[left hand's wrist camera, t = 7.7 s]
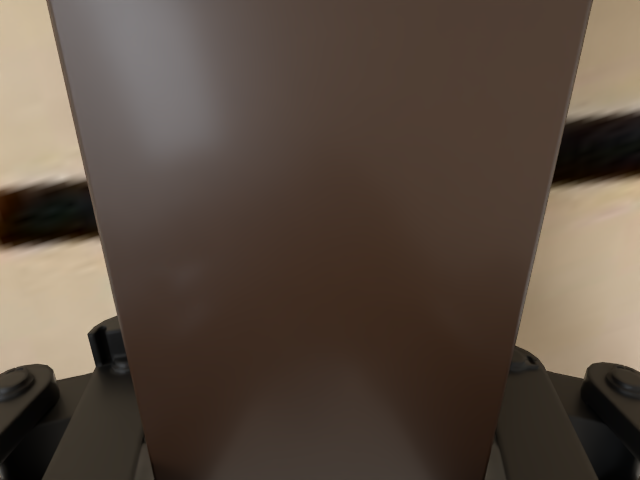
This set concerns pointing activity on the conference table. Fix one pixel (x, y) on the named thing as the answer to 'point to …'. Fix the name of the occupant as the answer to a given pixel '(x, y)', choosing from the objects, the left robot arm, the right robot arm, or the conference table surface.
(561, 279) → the conference table surface
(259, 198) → the beam
